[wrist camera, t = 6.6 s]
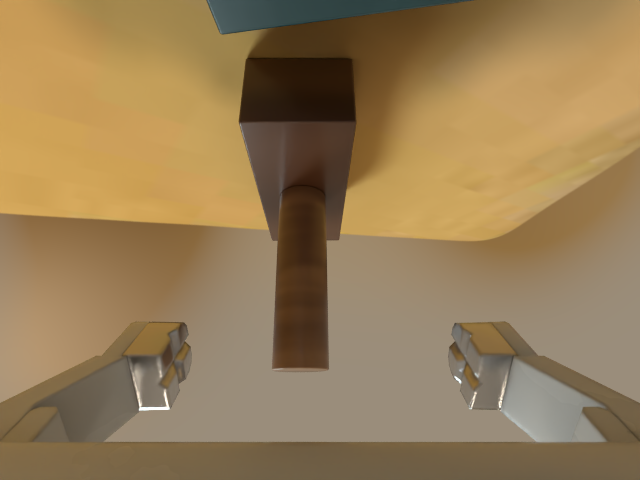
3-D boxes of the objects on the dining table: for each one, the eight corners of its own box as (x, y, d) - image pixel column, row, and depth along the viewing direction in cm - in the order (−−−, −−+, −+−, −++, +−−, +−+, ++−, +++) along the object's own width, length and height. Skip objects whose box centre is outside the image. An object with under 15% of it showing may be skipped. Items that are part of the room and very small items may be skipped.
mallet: (245, 58, 14) (211, 358, 9) (352, 58, 14) (373, 356, 10) (274, 196, 24) (264, 377, 19) (337, 196, 24) (343, 376, 20)
